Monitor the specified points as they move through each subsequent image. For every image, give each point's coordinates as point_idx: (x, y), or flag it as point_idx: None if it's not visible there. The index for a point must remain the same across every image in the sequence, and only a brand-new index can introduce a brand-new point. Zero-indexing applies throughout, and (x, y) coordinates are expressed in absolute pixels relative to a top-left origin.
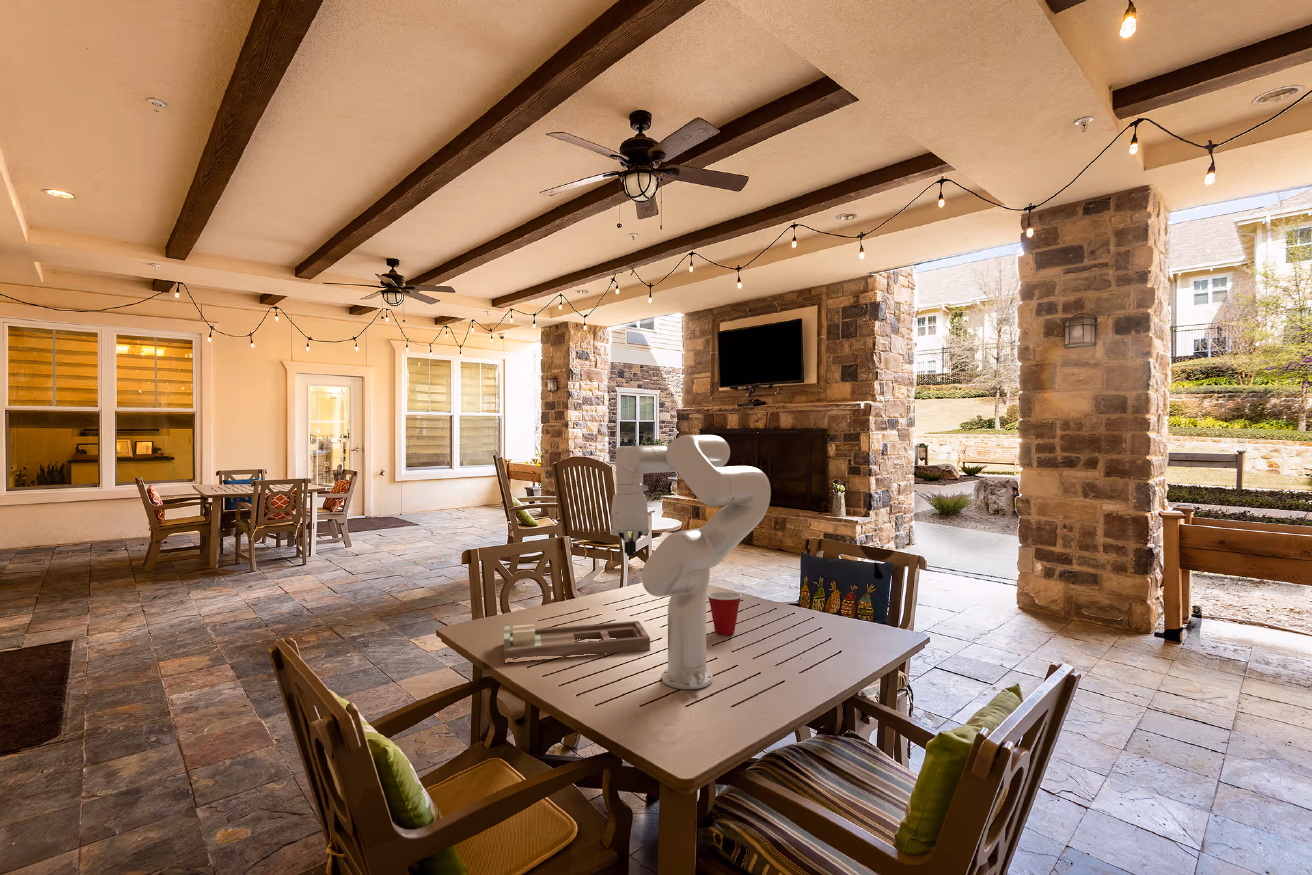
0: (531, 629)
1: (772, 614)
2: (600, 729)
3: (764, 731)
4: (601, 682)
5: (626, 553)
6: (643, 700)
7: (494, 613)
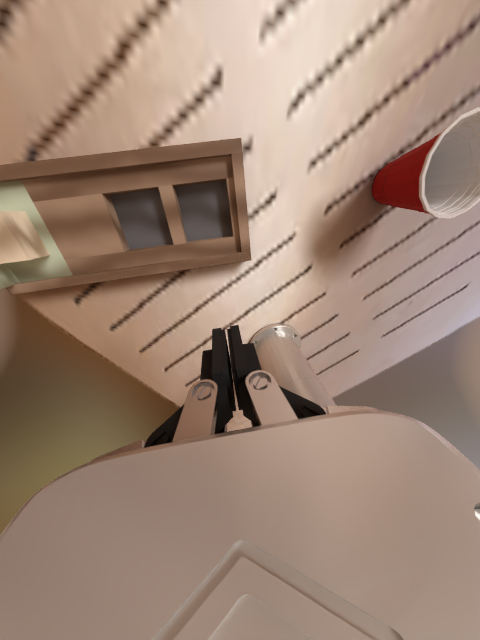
0: (14, 249)
1: None
2: None
3: None
4: (186, 347)
5: (212, 330)
6: None
7: None
